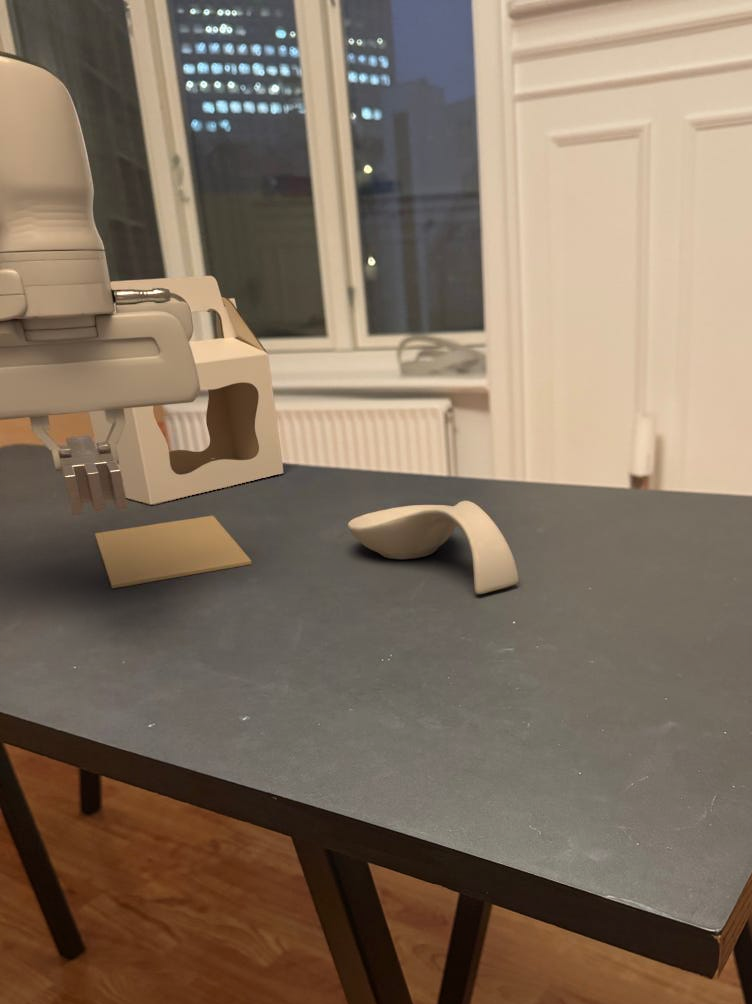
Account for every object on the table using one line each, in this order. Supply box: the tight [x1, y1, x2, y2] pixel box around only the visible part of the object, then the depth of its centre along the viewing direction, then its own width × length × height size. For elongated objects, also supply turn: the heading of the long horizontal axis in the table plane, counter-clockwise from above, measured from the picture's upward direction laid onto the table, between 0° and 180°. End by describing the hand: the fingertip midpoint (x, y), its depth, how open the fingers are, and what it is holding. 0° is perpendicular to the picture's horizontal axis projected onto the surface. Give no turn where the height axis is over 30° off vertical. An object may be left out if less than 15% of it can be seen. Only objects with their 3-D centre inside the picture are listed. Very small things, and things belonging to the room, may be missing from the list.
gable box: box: [88, 275, 285, 506], centre depth 129 cm, size 22×13×28 cm, turn 137°
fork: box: [60, 434, 129, 516], centre depth 78 cm, size 19×4×3 cm, turn 25°
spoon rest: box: [347, 500, 519, 595], centre depth 93 cm, size 24×12×7 cm, turn 34°
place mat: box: [94, 515, 253, 589], centre depth 103 cm, size 22×14×1 cm, turn 25°
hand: (87, 466), depth 78 cm, fingers closed on fork, 2 cm apart
